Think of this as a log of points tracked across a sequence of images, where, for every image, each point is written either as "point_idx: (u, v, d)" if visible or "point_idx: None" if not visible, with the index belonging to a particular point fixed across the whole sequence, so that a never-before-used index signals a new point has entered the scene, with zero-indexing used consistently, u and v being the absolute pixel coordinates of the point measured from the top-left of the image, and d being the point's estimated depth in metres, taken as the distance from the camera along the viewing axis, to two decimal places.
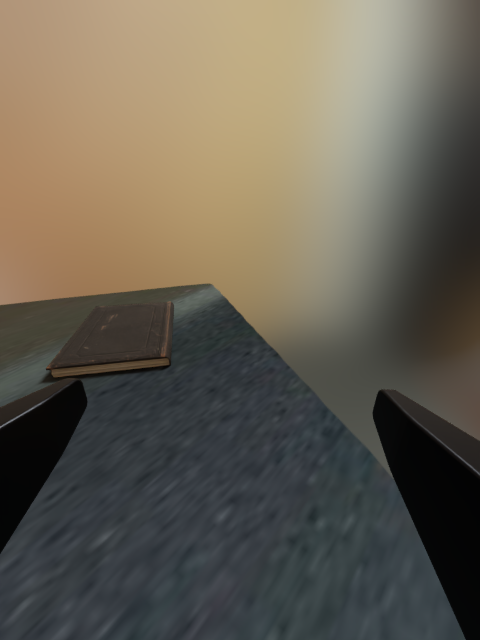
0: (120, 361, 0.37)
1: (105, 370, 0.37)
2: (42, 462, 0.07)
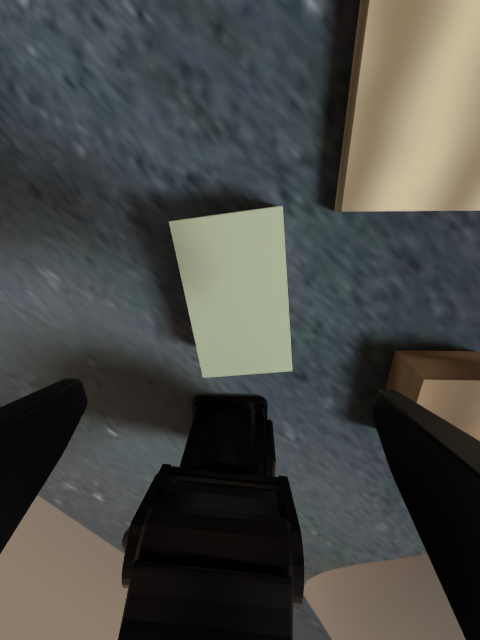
0: None
1: None
2: (42, 462, 0.07)
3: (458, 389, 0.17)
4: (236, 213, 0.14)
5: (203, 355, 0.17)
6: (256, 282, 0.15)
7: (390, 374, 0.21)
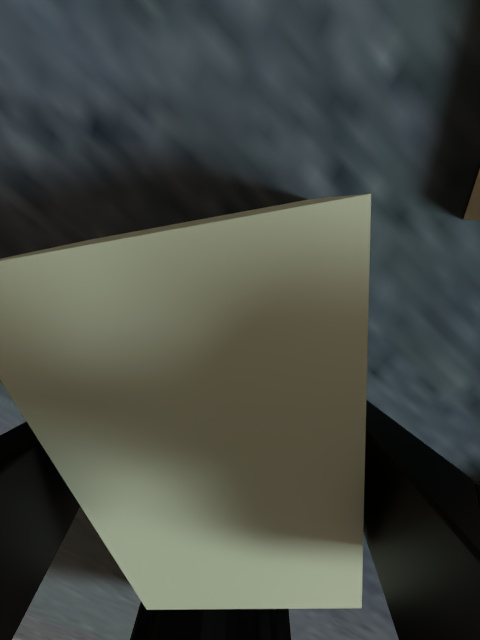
0: None
1: None
2: None
3: None
4: (176, 233, 0.03)
5: (139, 578, 0.07)
6: (265, 444, 0.05)
7: None
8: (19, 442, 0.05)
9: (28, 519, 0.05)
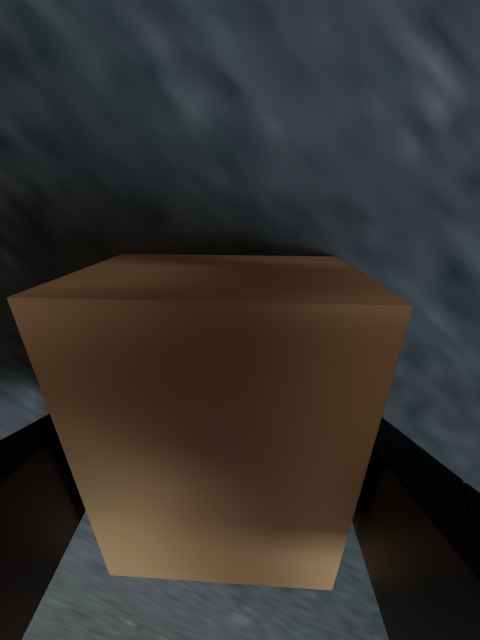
0: None
1: None
2: None
3: (165, 345, 0.04)
4: None
5: None
6: None
7: None
8: (28, 442, 0.05)
9: (37, 520, 0.05)
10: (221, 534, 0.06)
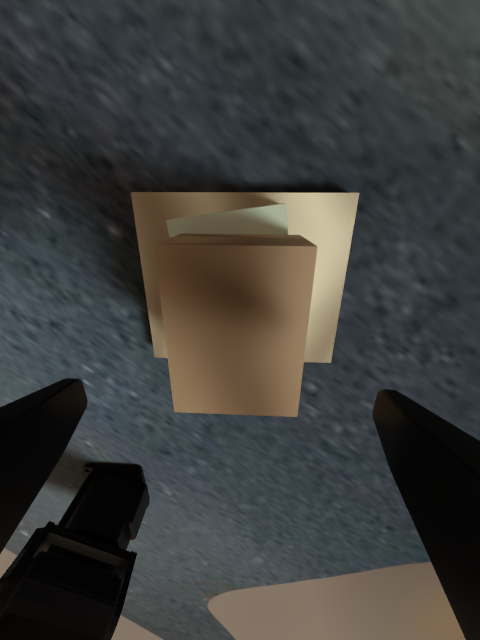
0: None
1: None
2: (42, 462, 0.07)
3: (217, 265, 0.10)
4: (237, 211, 0.13)
5: None
6: None
7: None
8: None
9: None
10: (237, 376, 0.12)
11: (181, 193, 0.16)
